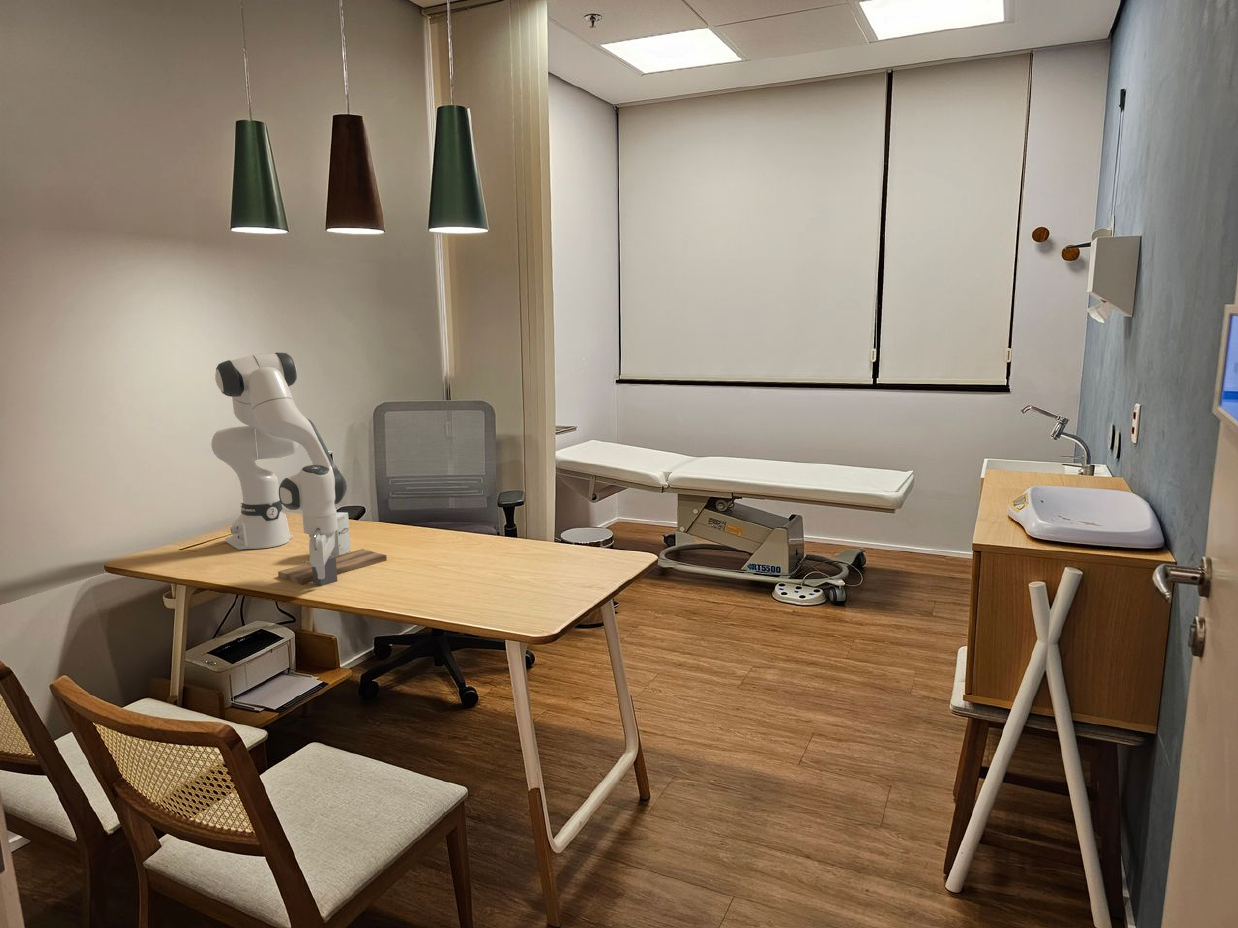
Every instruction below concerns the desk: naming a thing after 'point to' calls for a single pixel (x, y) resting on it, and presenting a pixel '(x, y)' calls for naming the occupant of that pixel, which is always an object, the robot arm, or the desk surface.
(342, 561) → the plank
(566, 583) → the desk surface
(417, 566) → the desk surface
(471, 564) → the desk surface
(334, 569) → the gray-headed mallet
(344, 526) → the supplement box
